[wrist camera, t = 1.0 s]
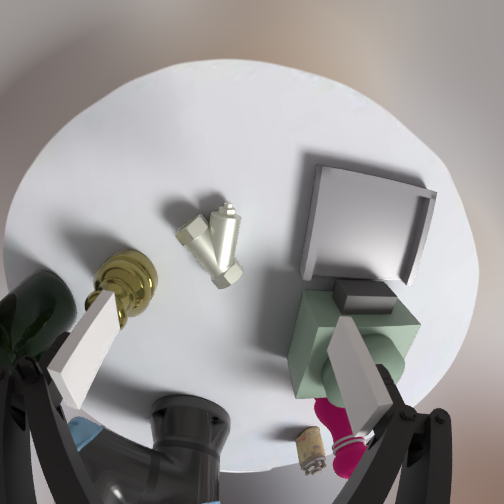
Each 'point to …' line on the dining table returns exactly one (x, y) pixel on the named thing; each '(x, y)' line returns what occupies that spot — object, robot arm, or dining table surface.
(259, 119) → the dining table surface
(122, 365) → the dining table surface
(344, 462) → the pepper mill
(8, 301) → the dark green wine bottle
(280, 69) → the dining table surface
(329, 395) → the mower housing
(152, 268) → the brass rounded piece
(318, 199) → the tray
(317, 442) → the tan cylindrical piece
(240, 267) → the pipe fitting
